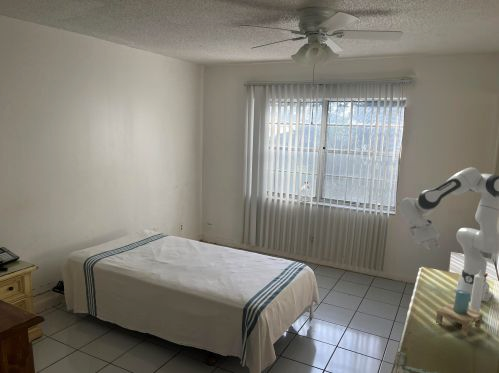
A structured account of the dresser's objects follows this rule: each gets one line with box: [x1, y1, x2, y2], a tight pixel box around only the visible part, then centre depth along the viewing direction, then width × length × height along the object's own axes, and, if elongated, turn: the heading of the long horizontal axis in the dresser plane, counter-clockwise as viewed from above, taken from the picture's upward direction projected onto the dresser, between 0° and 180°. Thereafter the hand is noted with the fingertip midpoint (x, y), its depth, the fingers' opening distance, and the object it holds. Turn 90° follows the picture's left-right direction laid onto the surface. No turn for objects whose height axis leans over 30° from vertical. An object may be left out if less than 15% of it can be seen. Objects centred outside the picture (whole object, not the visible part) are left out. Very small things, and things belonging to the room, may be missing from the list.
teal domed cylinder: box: [453, 290, 471, 315], centre depth 184 cm, size 6×6×10 cm
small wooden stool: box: [435, 301, 483, 337], centre depth 186 cm, size 16×14×7 cm
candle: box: [469, 270, 485, 313], centre depth 195 cm, size 7×7×25 cm
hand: (434, 247), depth 198 cm, fingers open, 8 cm apart
